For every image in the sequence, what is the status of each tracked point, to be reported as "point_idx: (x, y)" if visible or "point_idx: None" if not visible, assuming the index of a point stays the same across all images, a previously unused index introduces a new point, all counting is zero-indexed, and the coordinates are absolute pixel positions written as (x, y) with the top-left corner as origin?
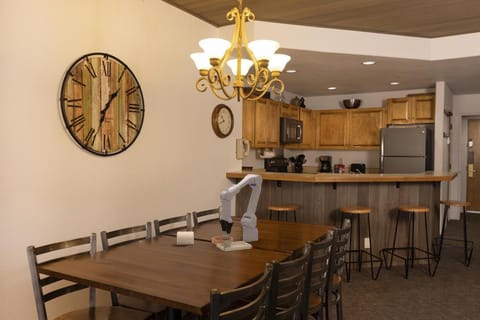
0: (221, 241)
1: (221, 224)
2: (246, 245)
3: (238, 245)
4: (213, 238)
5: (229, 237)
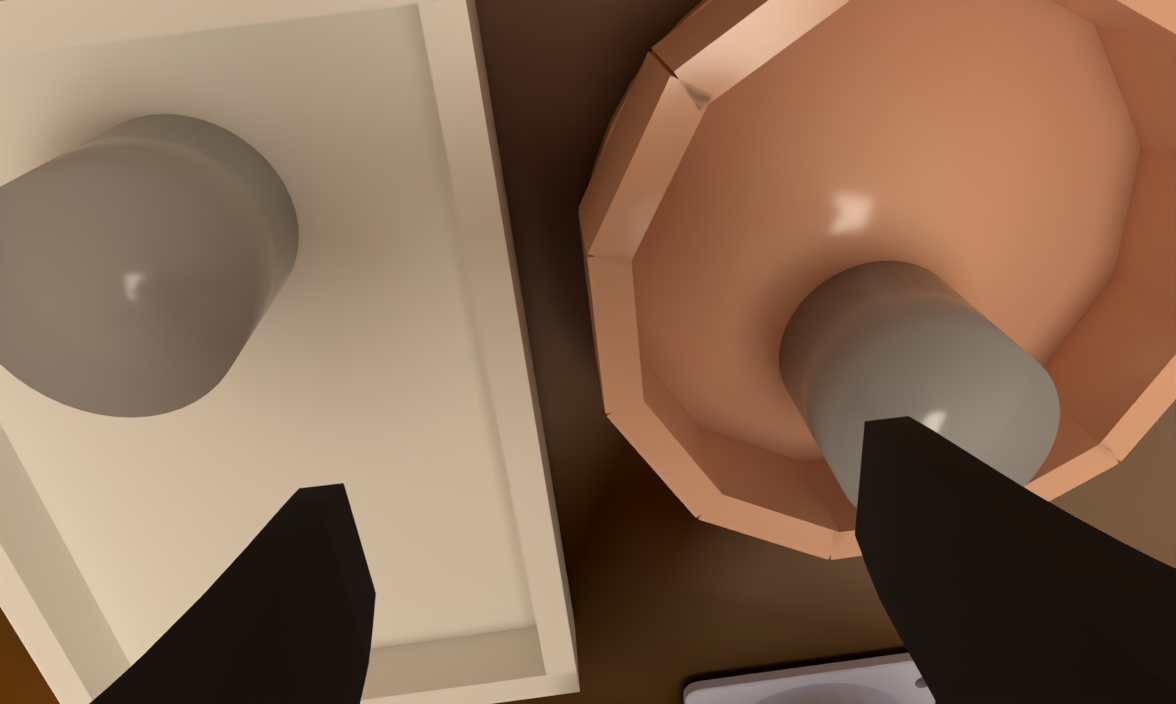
0: (611, 187)
1: (1091, 635)
2: None
3: (431, 532)
4: (1130, 12)
5: None
